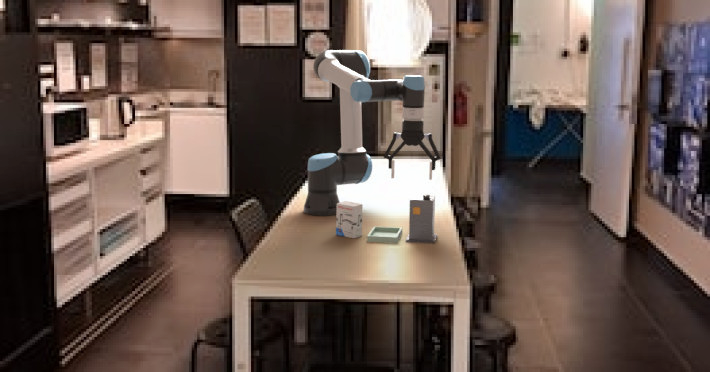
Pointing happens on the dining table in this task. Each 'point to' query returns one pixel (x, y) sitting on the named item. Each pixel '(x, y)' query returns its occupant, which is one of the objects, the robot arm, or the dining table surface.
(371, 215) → the dining table surface
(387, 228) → the tray
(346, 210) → the ink box
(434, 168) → the robot arm
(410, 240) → the control unit
